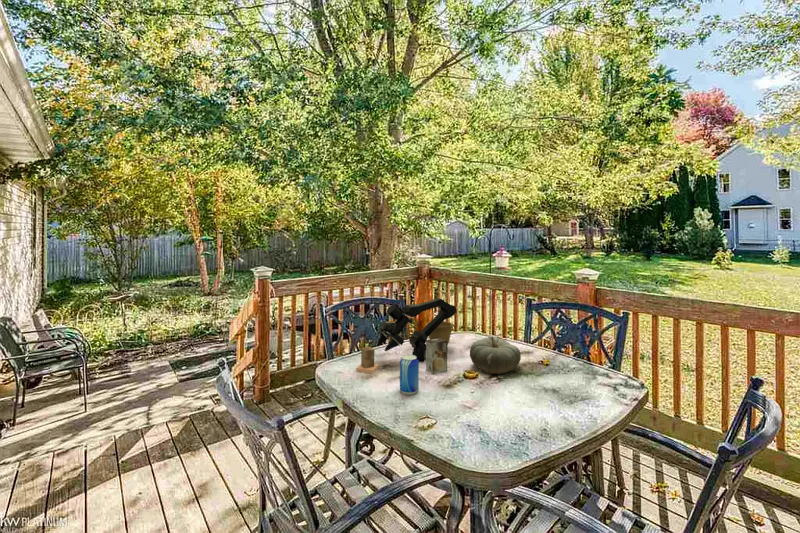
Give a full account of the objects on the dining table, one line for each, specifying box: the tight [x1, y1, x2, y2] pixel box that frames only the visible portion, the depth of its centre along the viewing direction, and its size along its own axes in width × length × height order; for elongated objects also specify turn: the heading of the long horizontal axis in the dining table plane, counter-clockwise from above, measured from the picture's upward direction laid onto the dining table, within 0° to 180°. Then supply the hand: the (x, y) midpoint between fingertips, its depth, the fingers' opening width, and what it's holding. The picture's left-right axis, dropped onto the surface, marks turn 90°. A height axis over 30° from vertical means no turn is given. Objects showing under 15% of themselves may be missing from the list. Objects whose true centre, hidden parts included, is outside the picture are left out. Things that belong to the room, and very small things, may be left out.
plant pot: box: [426, 320, 453, 347], centre depth 244 cm, size 15×15×16 cm
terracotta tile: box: [355, 363, 380, 375], centre depth 213 cm, size 9×9×2 cm
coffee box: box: [425, 338, 448, 375], centre depth 211 cm, size 9×6×16 cm
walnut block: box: [360, 346, 376, 368], centre depth 213 cm, size 5×5×9 cm
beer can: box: [399, 354, 420, 396], centre depth 185 cm, size 8×8×16 cm
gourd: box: [469, 335, 522, 375], centre depth 214 cm, size 25×25×17 cm
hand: (380, 348), depth 216 cm, fingers open, 9 cm apart
